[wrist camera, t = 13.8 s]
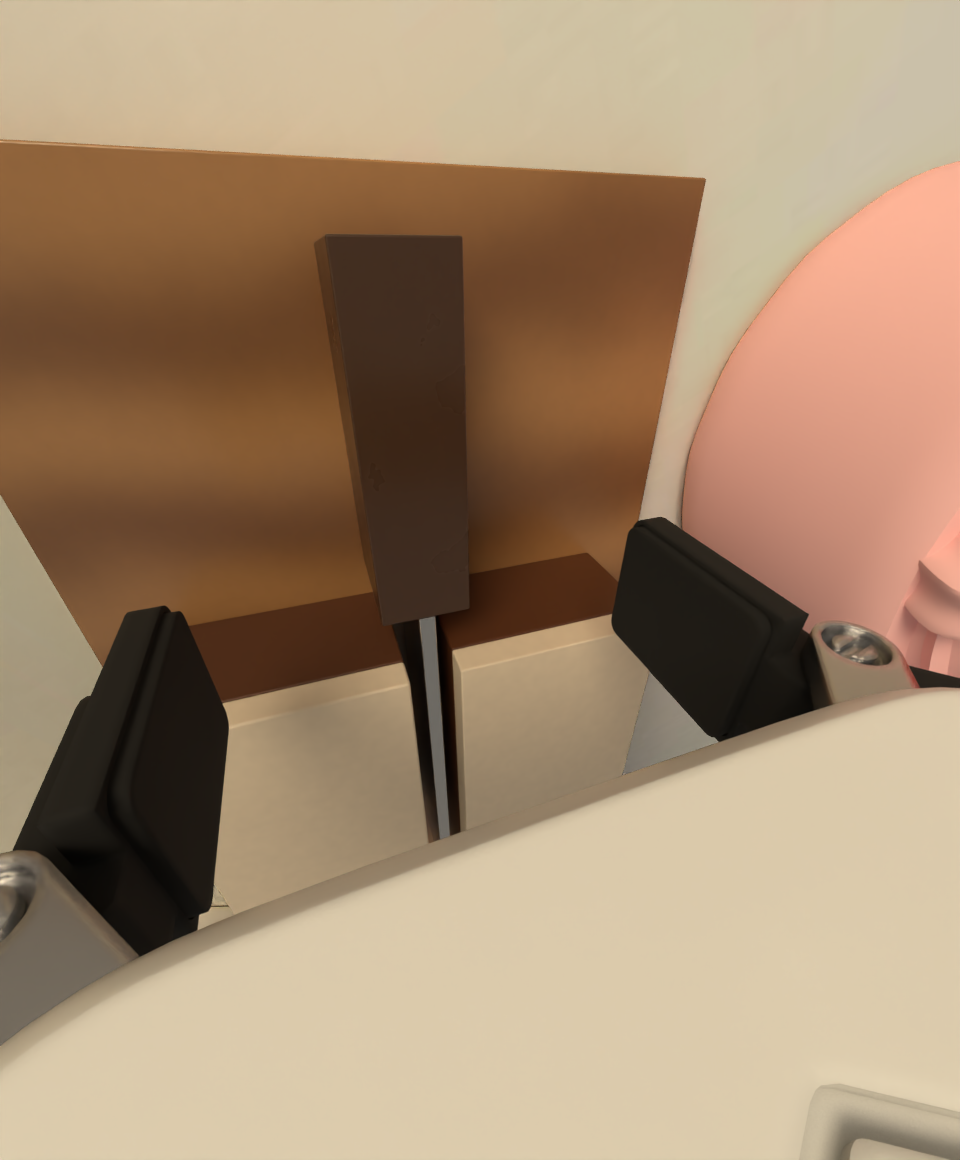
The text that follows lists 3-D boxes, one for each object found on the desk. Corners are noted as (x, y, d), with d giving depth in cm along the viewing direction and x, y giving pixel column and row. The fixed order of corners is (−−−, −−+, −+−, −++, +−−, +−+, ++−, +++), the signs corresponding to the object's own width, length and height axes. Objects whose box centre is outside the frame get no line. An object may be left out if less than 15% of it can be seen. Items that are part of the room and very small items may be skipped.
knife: (313, 241, 12) (323, 233, 9) (417, 242, 12) (463, 235, 9) (403, 806, 25) (420, 885, 22) (451, 791, 26) (474, 865, 22)
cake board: (-178, 138, 9) (-221, 126, 8) (684, 182, 15) (707, 177, 14) (245, 886, 26) (244, 906, 25) (577, 778, 31) (584, 792, 30)
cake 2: (422, 581, 18) (461, 671, 14) (587, 551, 20) (663, 622, 16) (440, 799, 26) (468, 897, 22) (558, 762, 28) (604, 846, 24)
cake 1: (167, 628, 16) (128, 751, 12) (382, 589, 18) (410, 683, 14) (271, 852, 23) (268, 971, 19) (412, 808, 25) (436, 908, 21)
